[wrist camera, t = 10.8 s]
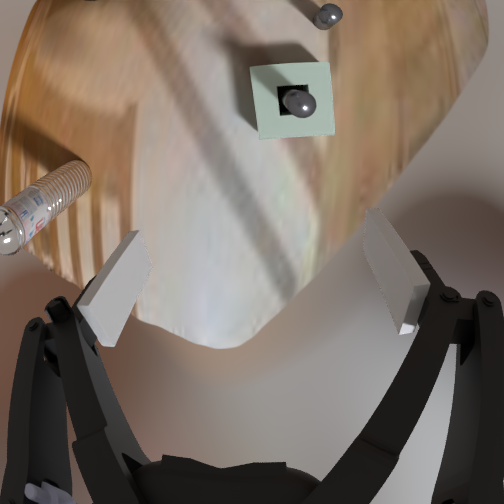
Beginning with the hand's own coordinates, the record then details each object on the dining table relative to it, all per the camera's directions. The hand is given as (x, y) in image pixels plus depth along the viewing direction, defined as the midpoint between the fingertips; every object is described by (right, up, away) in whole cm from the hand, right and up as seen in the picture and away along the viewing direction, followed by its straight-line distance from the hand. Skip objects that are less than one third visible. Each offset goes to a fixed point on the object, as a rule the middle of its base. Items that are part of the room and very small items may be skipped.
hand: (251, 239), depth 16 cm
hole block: (+6, +21, +20) cm, 30 cm away
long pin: (+6, +21, +20) cm, 30 cm away
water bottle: (-31, +13, +28) cm, 44 cm away
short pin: (+10, +32, +13) cm, 36 cm away
